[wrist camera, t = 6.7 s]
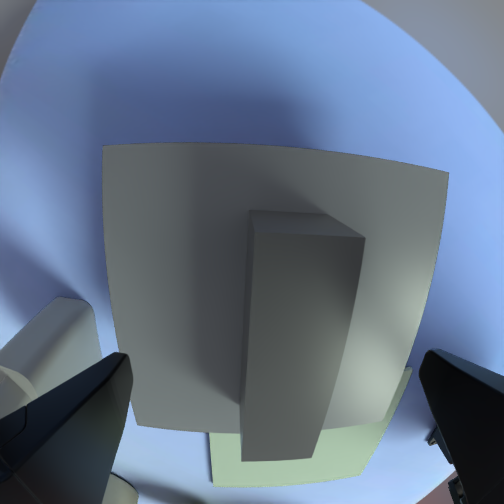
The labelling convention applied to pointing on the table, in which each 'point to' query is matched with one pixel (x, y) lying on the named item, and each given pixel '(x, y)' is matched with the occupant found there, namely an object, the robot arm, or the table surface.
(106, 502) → the travel mug
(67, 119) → the table surface
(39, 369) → the power adapter
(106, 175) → the lid
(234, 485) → the mat
